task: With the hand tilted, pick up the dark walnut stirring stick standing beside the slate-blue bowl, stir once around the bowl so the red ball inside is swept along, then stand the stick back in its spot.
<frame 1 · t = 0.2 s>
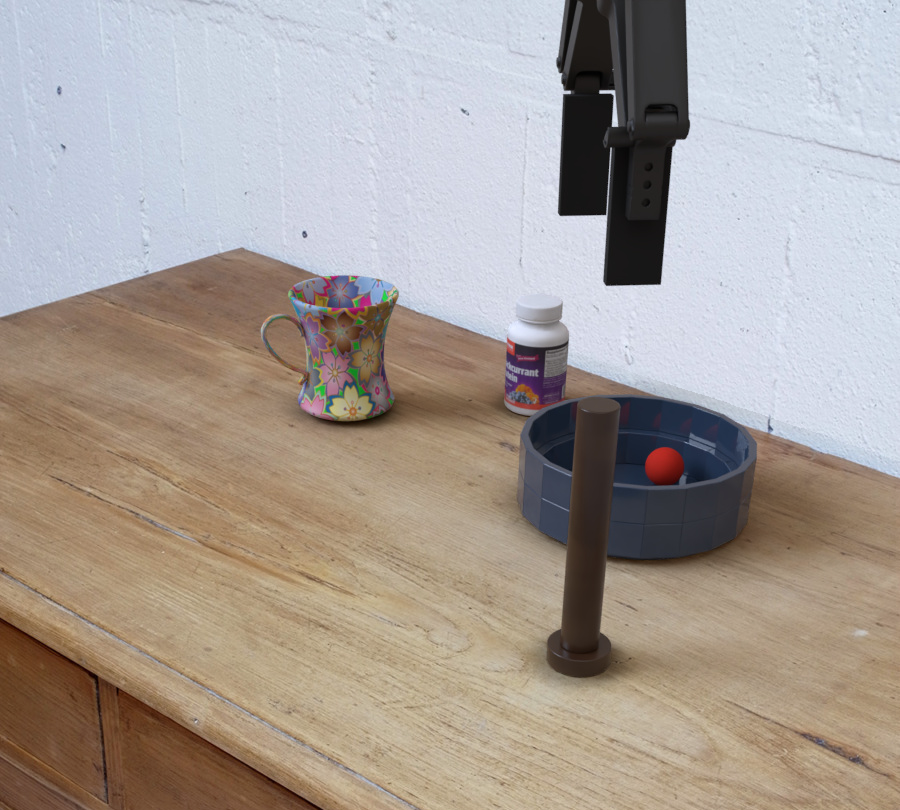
hand: (604, 246, 70), 25 cm above the cabinet, tool pointing down, fingers open, 13 cm apart
red ball: (664, 466, 102), point 2 cm above the cabinet, touching bowl
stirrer: (578, 659, 82), on the cabinet
pill bottle: (533, 408, 117), on the cabinet
bowl: (631, 510, 100), on the cabinet
mug: (332, 413, 116), on the cabinet
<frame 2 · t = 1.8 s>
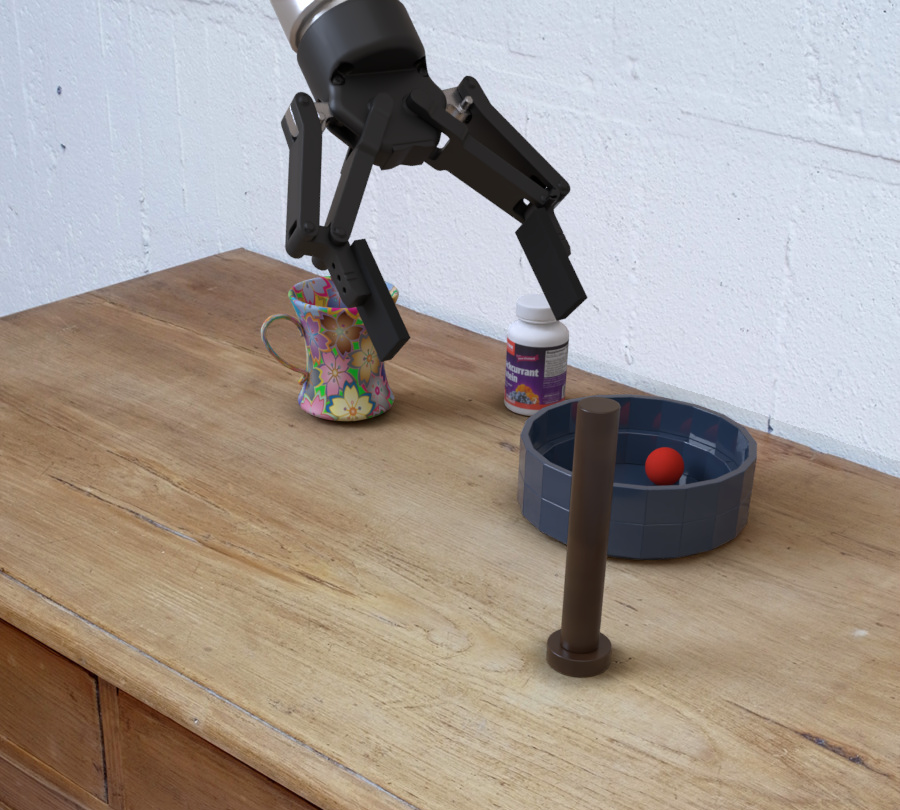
hand: (488, 329, 79), 18 cm above the cabinet, tool tilted 45°, fingers open, 13 cm apart
nothing on the cabinet moved.
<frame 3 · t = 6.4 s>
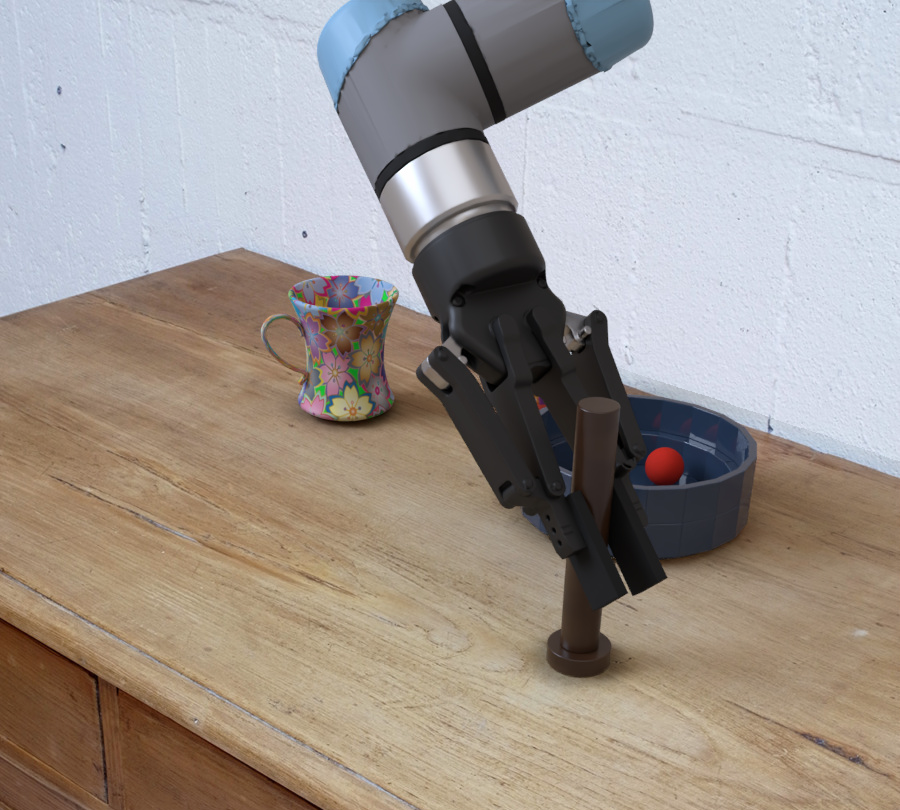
hand: (630, 594, 76), 7 cm above the cabinet, tool tilted 45°, fingers closed on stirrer, 2 cm apart
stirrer: (578, 659, 82), on the cabinet, touching gripper
everything else where it was.
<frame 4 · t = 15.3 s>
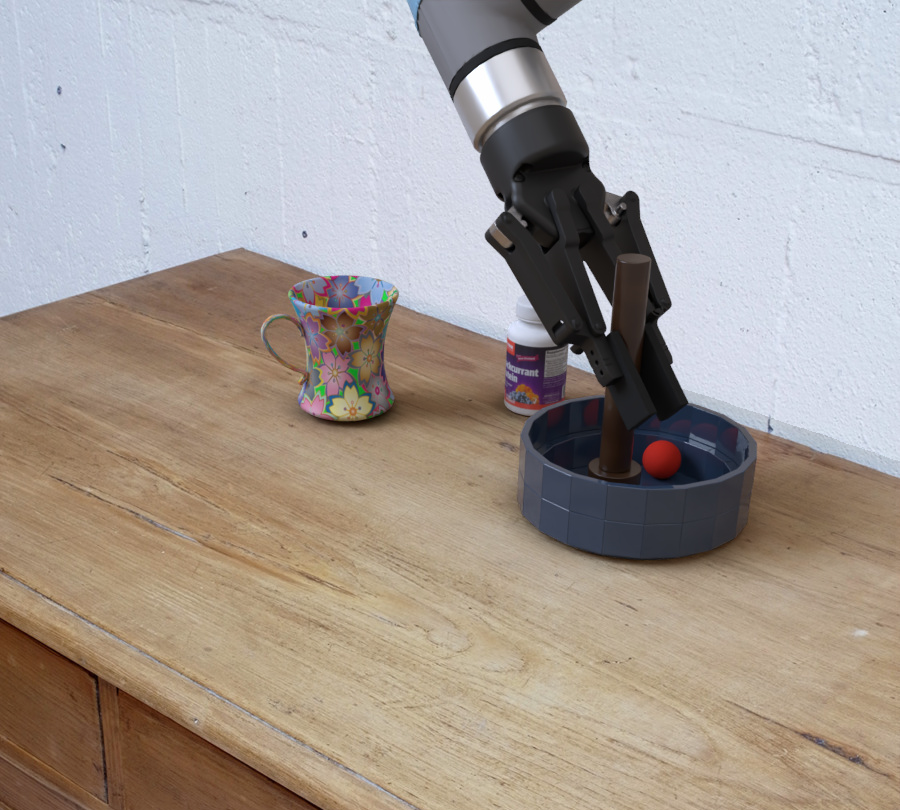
hand: (658, 416, 93), 9 cm above the cabinet, tool tilted 45°, fingers closed on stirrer, 2 cm apart
red ball: (661, 459, 103), point 2 cm above the cabinet, tilted 50°, touching bowl
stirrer: (613, 481, 99), point 2 cm above the cabinet, touching gripper
everything else where it was.
when the fingers open (7 cm above the cabinet, at t = 22.2 s): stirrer stays where it is, on the cabinet.
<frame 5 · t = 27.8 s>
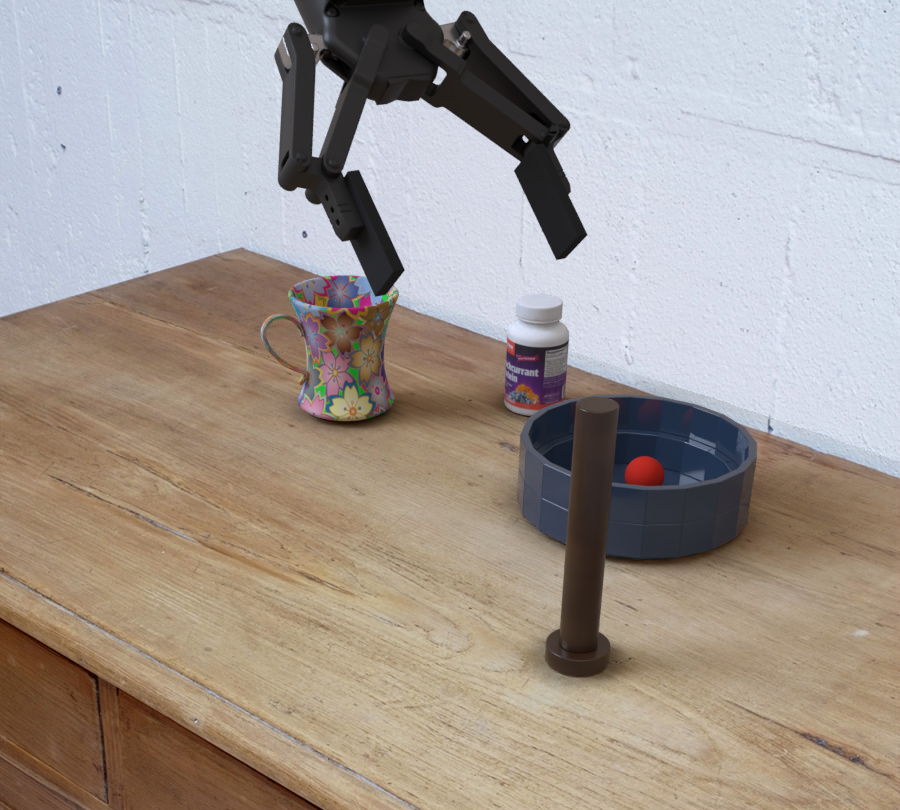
hand: (485, 265, 78), 22 cm above the cabinet, tool tilted 45°, fingers open, 13 cm apart
red ball: (644, 475, 100), point 2 cm above the cabinet, tilted 89°, touching bowl
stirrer: (576, 659, 82), on the cabinet
everything else where it was.
at the end: red ball moved 2.5 cm from its start; red ball inside the target area in the bowl (2.0 cm from its centre), point 2.1 cm above the bowl's base; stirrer tilted 0° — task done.
